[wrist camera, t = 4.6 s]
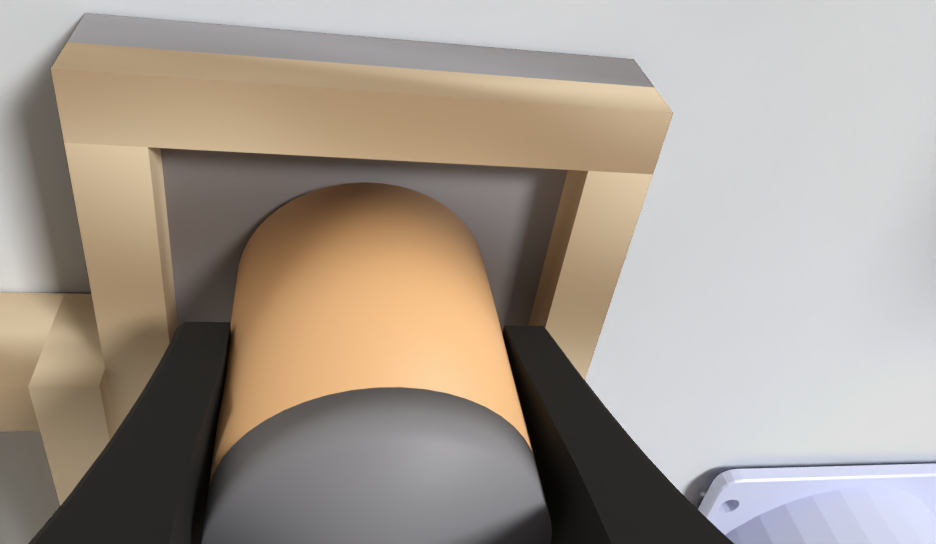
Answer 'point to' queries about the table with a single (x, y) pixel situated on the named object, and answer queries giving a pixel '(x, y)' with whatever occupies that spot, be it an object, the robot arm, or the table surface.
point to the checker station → (310, 188)
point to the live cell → (369, 384)
